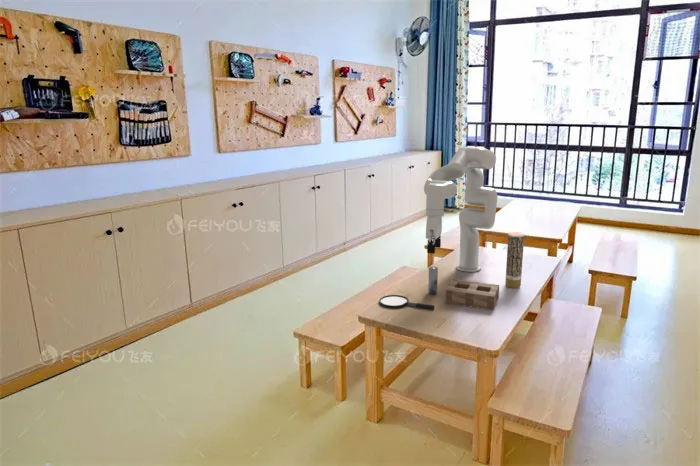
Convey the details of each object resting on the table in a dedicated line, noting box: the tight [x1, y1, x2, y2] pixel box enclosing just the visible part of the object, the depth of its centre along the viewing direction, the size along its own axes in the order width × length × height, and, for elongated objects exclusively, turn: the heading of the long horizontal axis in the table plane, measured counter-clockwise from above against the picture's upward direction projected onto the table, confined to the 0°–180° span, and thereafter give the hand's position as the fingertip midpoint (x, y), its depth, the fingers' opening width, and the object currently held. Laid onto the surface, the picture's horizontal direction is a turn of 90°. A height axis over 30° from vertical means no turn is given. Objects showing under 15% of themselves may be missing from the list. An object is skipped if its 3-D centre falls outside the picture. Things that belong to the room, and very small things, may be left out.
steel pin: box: [427, 266, 439, 296], centre depth 217 cm, size 4×4×12 cm
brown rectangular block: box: [445, 278, 500, 311], centre depth 209 cm, size 14×20×6 cm
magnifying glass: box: [379, 294, 435, 311], centre depth 206 cm, size 12×24×2 cm, turn 63°
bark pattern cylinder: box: [504, 231, 525, 289], centre depth 222 cm, size 7×7×25 cm
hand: (434, 250), depth 213 cm, fingers open, 9 cm apart
